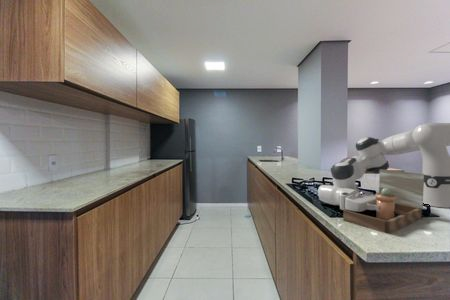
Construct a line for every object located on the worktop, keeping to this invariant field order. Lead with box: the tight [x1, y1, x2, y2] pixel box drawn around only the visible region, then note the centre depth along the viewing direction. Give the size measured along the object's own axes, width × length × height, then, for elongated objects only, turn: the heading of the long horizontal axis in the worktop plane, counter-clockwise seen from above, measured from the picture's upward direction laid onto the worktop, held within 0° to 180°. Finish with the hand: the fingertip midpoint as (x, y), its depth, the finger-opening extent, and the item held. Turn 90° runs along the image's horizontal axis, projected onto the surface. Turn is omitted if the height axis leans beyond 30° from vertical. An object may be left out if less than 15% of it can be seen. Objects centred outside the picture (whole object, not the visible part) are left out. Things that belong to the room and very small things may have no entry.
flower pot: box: [375, 188, 396, 221], centre depth 100 cm, size 7×7×13 cm
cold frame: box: [342, 169, 424, 235], centre depth 100 cm, size 29×16×18 cm, turn 124°
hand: (385, 206), depth 99 cm, fingers open, 8 cm apart
